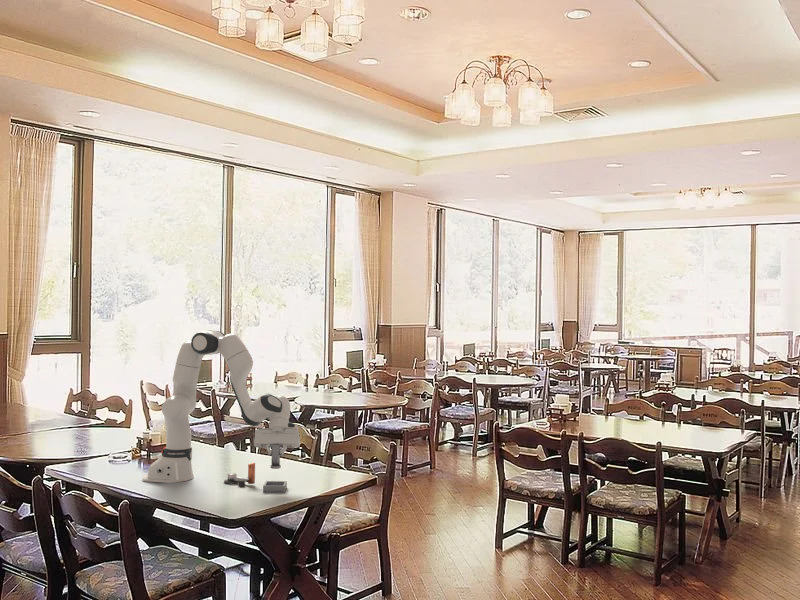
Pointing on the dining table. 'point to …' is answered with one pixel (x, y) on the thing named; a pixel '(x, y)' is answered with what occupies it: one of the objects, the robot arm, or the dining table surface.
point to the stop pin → (275, 456)
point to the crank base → (231, 482)
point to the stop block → (241, 483)
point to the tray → (275, 486)
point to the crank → (250, 478)
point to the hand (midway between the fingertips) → (275, 454)
